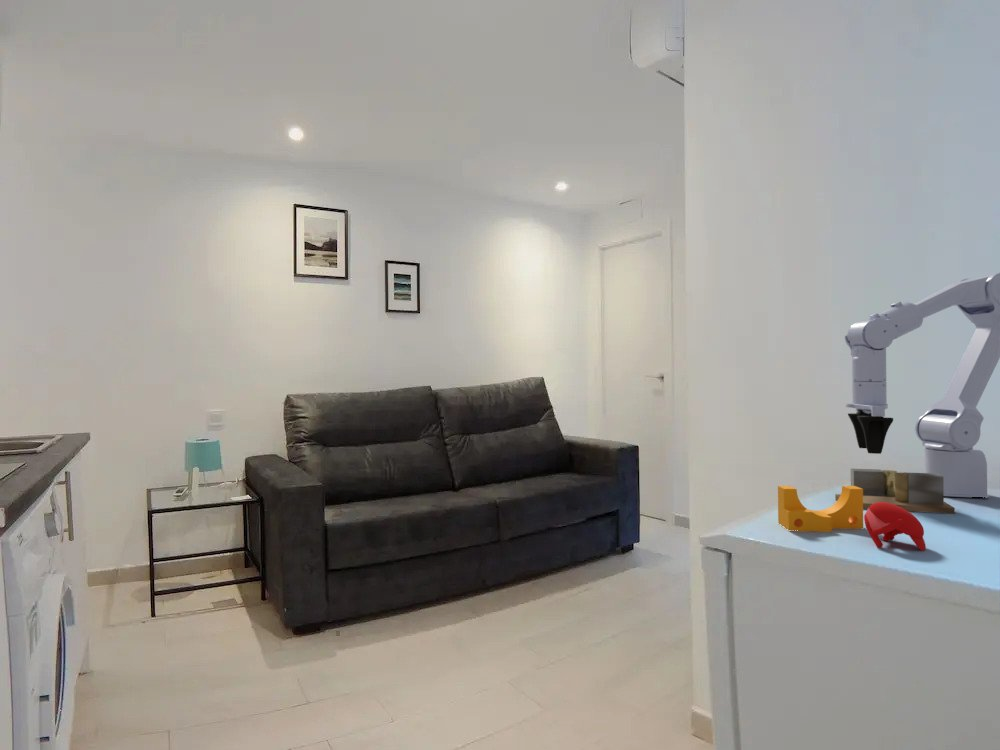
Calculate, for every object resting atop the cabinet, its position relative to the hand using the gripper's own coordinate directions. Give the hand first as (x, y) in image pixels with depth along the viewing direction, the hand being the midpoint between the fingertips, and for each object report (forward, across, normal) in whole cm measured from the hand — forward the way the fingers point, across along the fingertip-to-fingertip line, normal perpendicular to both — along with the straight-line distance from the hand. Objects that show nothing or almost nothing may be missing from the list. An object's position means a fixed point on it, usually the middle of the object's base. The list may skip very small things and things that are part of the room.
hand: (869, 450), depth 118 cm
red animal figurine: (+9, +36, -4) cm, 37 cm away
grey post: (+9, 0, +1) cm, 9 cm away
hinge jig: (+9, +9, +2) cm, 13 cm away
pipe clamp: (+9, +28, -12) cm, 32 cm away
